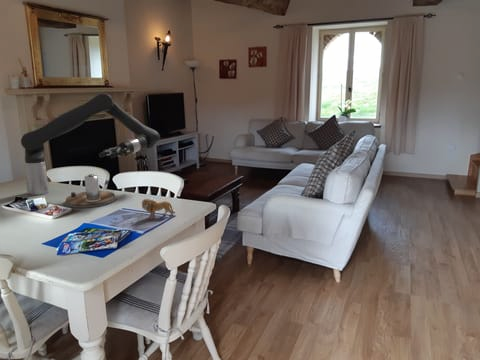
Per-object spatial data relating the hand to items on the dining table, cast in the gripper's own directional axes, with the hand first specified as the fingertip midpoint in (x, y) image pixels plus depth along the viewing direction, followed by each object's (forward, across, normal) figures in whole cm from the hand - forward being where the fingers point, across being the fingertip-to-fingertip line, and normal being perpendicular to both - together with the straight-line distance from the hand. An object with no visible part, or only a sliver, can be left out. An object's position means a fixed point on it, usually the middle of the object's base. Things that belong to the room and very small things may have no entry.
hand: (105, 155), depth 183 cm
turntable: (+9, -7, +20) cm, 23 cm away
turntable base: (+10, -7, +21) cm, 24 cm away
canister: (+12, 0, +19) cm, 23 cm away
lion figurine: (+9, +39, +24) cm, 47 cm away
